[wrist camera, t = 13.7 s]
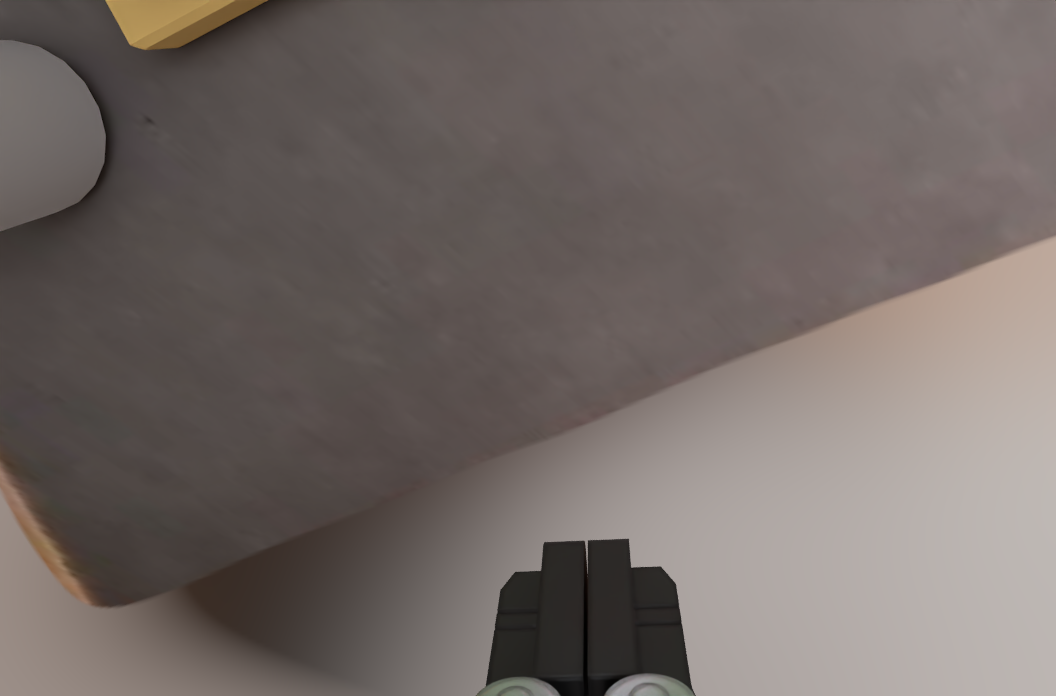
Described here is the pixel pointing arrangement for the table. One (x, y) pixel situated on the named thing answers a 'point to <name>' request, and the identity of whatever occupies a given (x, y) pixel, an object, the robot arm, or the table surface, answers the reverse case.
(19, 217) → the can
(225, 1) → the rubber stamp
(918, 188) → the table surface
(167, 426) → the table surface
